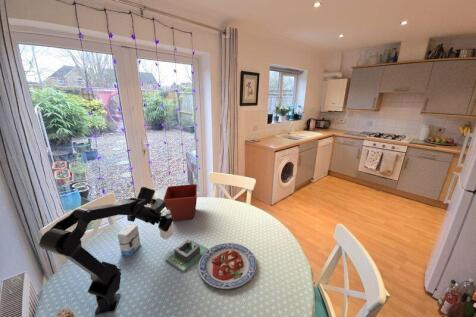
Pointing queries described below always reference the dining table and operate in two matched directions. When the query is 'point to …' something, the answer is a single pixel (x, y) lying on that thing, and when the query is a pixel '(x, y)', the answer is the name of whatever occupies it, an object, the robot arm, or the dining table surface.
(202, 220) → the dining table surface
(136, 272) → the dining table surface
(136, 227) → the ink box
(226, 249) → the ceramic plate
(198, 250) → the header board
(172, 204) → the plant pot
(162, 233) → the keyed plug
